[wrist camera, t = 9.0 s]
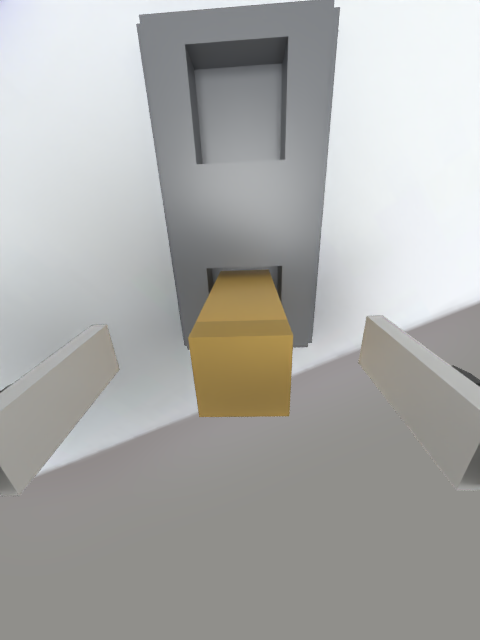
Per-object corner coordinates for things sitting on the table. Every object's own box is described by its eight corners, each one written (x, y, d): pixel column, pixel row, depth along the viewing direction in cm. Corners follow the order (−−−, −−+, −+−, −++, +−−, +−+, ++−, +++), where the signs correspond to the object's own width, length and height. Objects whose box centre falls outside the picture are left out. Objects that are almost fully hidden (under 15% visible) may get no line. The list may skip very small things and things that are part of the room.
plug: (223, 315, 22) (199, 416, 11) (220, 271, 20) (188, 337, 9) (268, 314, 22) (289, 416, 11) (268, 269, 20) (293, 335, 9)
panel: (187, 340, 24) (177, 359, 21) (142, 35, 16) (115, -12, 12) (309, 337, 24) (318, 357, 20) (334, 19, 15) (357, -34, 12)
